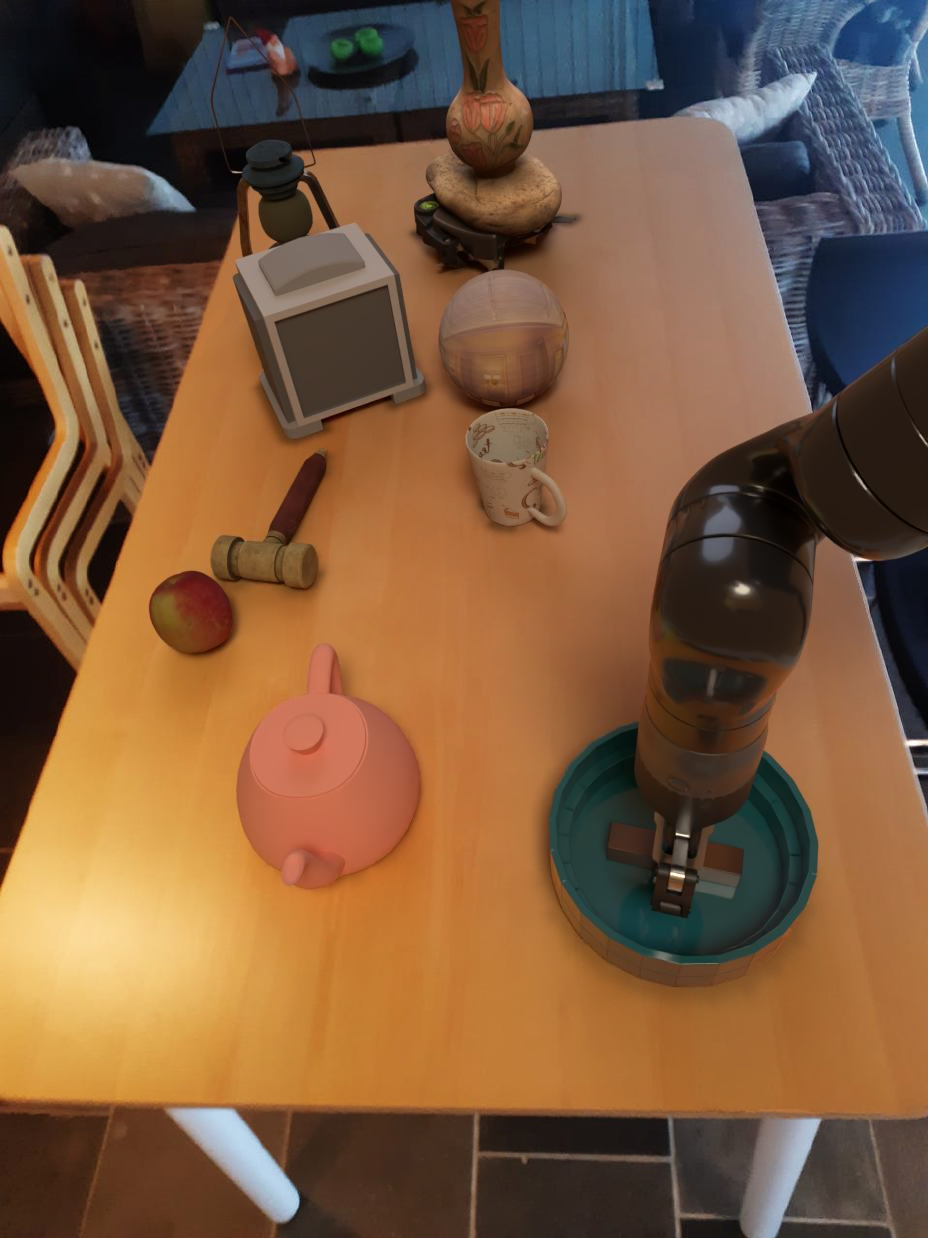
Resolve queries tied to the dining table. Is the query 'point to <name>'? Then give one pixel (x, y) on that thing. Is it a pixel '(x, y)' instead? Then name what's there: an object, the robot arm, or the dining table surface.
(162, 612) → the apple
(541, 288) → the ornament
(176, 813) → the dining table surface
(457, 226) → the vase
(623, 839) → the stick
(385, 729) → the teapot
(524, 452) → the mug
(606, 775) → the bowl
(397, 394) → the alarm clock
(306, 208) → the lantern
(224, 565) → the gavel
